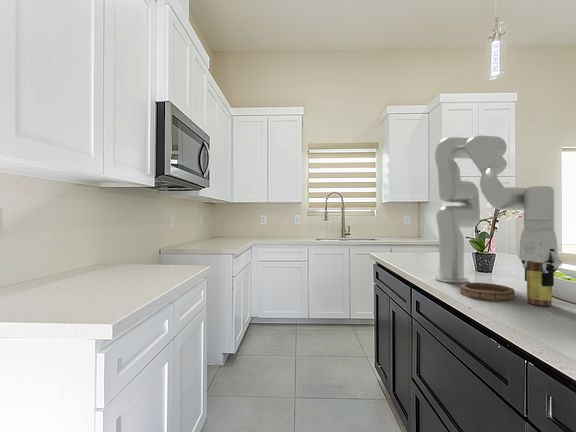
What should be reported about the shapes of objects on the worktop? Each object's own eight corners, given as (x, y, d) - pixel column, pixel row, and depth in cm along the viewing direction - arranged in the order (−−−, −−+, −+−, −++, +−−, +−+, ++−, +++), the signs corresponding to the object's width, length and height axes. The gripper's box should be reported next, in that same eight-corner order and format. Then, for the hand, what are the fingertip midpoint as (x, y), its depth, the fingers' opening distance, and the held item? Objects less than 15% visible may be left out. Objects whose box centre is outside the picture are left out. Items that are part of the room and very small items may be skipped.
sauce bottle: (556, 307, 98) (557, 241, 98) (533, 306, 99) (533, 241, 99) (544, 301, 104) (544, 239, 104) (522, 300, 106) (522, 239, 105)
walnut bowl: (451, 289, 121) (451, 282, 121) (493, 289, 122) (493, 282, 122) (477, 301, 105) (477, 293, 105) (526, 300, 106) (526, 292, 106)
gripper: (507, 225, 110) (507, 278, 110) (549, 227, 93) (549, 290, 93) (529, 224, 110) (529, 278, 111) (575, 227, 93) (575, 289, 93)
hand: (538, 283), depth 102 cm, fingers closed on sauce bottle, 6 cm apart
